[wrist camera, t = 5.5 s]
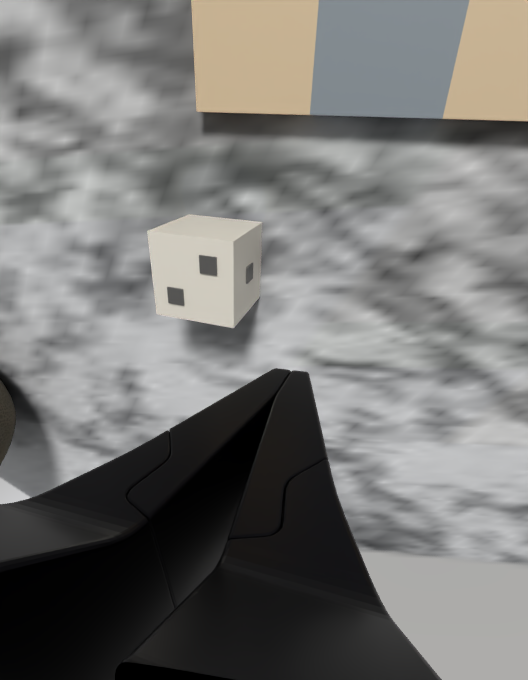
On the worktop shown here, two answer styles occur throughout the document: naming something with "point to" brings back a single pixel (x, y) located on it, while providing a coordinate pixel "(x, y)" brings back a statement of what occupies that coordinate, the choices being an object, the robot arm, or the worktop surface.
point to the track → (363, 58)
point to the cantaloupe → (6, 420)
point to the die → (206, 268)
